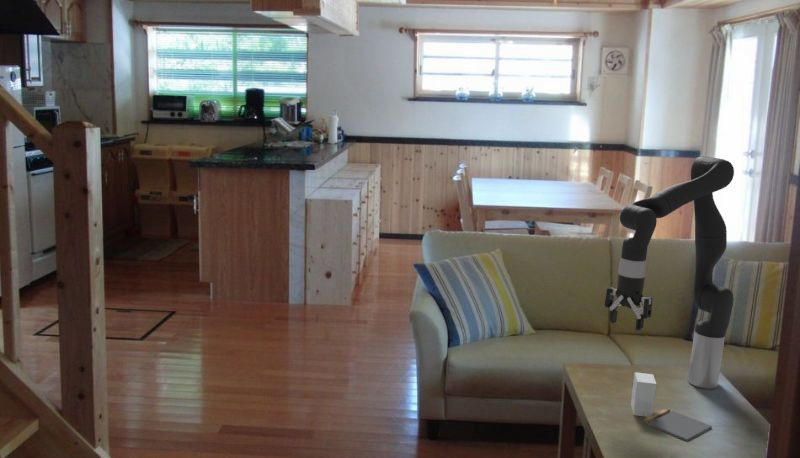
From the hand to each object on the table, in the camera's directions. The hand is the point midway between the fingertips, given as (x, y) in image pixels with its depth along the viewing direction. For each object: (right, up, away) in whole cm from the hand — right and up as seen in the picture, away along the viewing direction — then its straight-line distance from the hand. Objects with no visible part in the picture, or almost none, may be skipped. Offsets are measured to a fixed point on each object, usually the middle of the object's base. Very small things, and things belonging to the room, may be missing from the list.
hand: (625, 326), depth 228 cm
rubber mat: (+12, -27, -10) cm, 32 cm away
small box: (+4, -25, -1) cm, 26 cm away
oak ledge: (+8, -26, -5) cm, 27 cm away
